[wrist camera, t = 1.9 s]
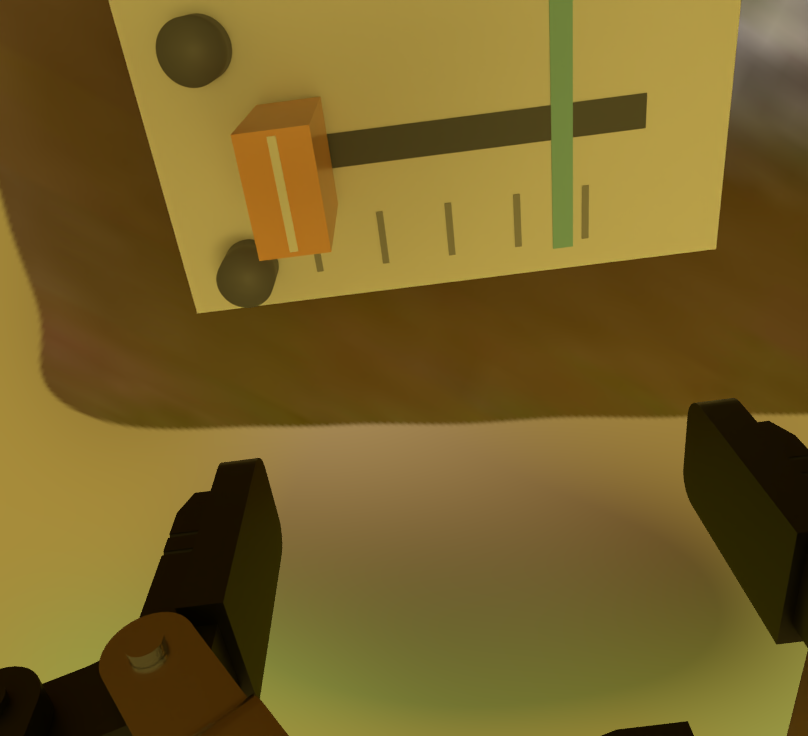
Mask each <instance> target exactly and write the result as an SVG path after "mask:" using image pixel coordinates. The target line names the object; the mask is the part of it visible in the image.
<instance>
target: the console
mask: <svg viewBox="0 0 808 736" xmlns="http://www.w3.org/2000/svg"><path fill="white" fill-rule="evenodd" d="M108 1H109V4H110V8H111V11H112V15H113V18H114V22H115V25H116V29H117V32H118V36H119V39H120V43H121V46H122V50H123V53H124V57H125V60H126V64H127V67H128V71H129V75H130V78H131V82H132V85H133V89H134V92H135V96H136V99H137V103H138V106H139V110H140V113H141V117H142V120H143V124H144V127H145V131H146V134H147V138H148V141H149V145H150V148H151V152H152V155H153V159H154V163H155V166H156V170H157V173H158V177H159V180H160V184H161V187H162V191H163V194H164V198H165V201H166V205H167V208H168V212H169V215H170V219H171V222H172V226H173V229H174V233H175V236H176V240H177V243H178V247H179V250H180V254H181V258H182V261H183V265H184V268H185V272H186V275H187V279H188V282H189V286H190V289H191V293H192V296H193V300H194V303H195V307H196V310H197V313H204V312H212V311H220V310H229V309H237V308H251V307H256V306H261V305H269V304H277V303H285V302H293V301H301V300H309V299H317V298H325V297H333V296H341V295H349V294H357V293H365V292H373V291H381V290H389V289H397V288H406V287H414V286H422V285H430V284H438V283H446V282H454V281H462V280H470V279H478V278H486V277H494V276H502V275H510V274H518V273H526V272H534V271H542V270H550V269H558V268H566V267H574V266H583V265H591V264H599V263H607V262H615V261H623V260H631V259H639V258H647V257H655V256H663V255H671V254H679V253H687V252H695V251H703V250H711V249H716V243H717V233H718V223H719V213H720V203H721V193H722V183H723V174H724V164H725V154H726V144H727V134H728V124H729V114H730V105H731V95H732V85H733V75H734V65H735V55H736V45H737V36H738V26H739V16H740V6H741V0H108ZM313 97H321V103H322V109H323V115H324V121H325V127H326V133H327V139H328V145H329V151H330V157H331V163H332V170H333V176H334V182H335V188H336V194H337V200H338V209H337V216H336V223H335V230H334V237H333V244H332V251H331V252H328V253H320V254H312V255H304V256H296V257H288V258H280V259H272V260H264V261H259V257H258V253H257V249H256V244H255V240H254V236H253V231H252V227H251V222H250V218H249V214H248V209H247V205H246V201H245V196H244V192H243V187H242V183H241V179H240V174H239V170H238V165H237V161H236V157H235V152H234V148H233V144H232V139H231V134H232V133H233V131H234V130H235V129H236V128H237V127H238V126H239V124H240V123H241V122H242V121H243V120H244V119H245V117H246V116H247V115H248V114H249V113H250V112H251V110H252V109H253V108H254V107H255V106H256V105H260V104H267V103H275V102H283V101H290V100H298V99H306V98H313Z"/></svg>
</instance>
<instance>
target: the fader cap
mask: <svg viewBox="0 0 808 736" xmlns="http://www.w3.org/2000/svg"><path fill="white" fill-rule="evenodd" d="M231 139H232V144H233V148H234V152H235V157H236V161H237V165H238V170H239V174H240V179H241V183H242V187H243V192H244V196H245V201H246V205H247V209H248V214H249V218H250V222H251V227H252V231H253V236H254V240H255V244H256V249H257V253H258V257H259V261H264V260H272V259H280V258H288V257H296V256H304V255H312V254H320V253H328V252H331V251H332V244H333V237H334V230H335V223H336V216H337V209H338V200H337V194H336V188H335V182H334V176H333V170H332V163H331V157H330V151H329V145H328V139H327V133H326V127H325V121H324V115H323V109H322V103H321V97H313V98H306V99H298V100H290V101H283V102H275V103H267V104H260V105H256V106H255V107H254V108H253V109H252V110H251V112H250V113H249V114H248V115H247V116H246V117H245V119H244V120H243V121H242V122H241V123H240V124H239V126H238V127H237V128H236V129H235V130H234V131H233V133H232V134H231Z"/></svg>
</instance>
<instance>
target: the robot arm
mask: <svg viewBox="0 0 808 736" xmlns="http://www.w3.org/2000/svg"><path fill="white" fill-rule="evenodd" d="M683 475H684V483H685V488H686V492H687V495H688V498H689V500H690V502H691V504H692V506H693V508H694V509H695V511H696V513H697V514H698V516H699V518H700V519H701V521H702V523H703V524H704V526H705V527H706V529H707V531H708V532H709V534H710V536H711V537H712V539H713V541H714V542H715V544H716V545H717V547H718V549H719V550H720V552H721V554H722V555H723V557H724V559H725V560H726V562H727V563H728V565H729V567H730V568H731V570H732V572H733V574H734V575H735V577H736V578H737V580H738V582H739V583H740V585H741V587H742V588H743V590H744V592H745V593H746V595H747V596H748V598H749V600H750V601H751V603H752V605H753V606H754V608H755V610H756V611H757V613H758V615H759V616H760V618H761V619H762V621H763V623H764V624H765V626H766V628H767V629H768V631H769V633H770V634H771V636H772V638H773V639H774V641H775V643H776V644H784V643H792V642H801V641H804V643H805V644H806V646H807V648H808V449H807V448H806V447H805V445H804V444H803V443H802V442H801V441H800V440H799V439H798V438H797V437H796V436H795V435H793V434H792V433H789V432H788V431H786V430H784V429H783V428H781V427H779V426H777V425H775V424H774V423H771V422H770V421H764V422H757V421H756V420H755V419H754V418H753V417H752V416H751V414H750V413H749V412H748V411H747V410H746V409H745V407H744V406H743V405H742V404H741V403H740V402H739V401H738V400H737V399H735V398H730V399H722V400H714V401H707V402H699V403H693V404H691V406H690V407H689V411H688V418H687V432H686V444H685V457H684V469H683ZM281 555H282V533H281V526H280V521H279V517H278V513H277V509H276V506H275V502H274V498H273V495H272V491H271V488H270V484H269V480H268V477H267V473H266V469H265V466H264V464H263V461H262V460H261V459H260V458H255V459H248V460H240V461H231V462H224V463H220V464H219V466H218V469H217V472H216V475H215V479H214V482H213V485H212V488H211V491H207V492H199V493H194V494H193V496H192V497H191V498H190V499H189V500H188V501H187V502H186V504H185V505H184V506H183V507H182V508H181V509H180V510H179V511H178V513H177V515H176V517H175V520H174V523H173V526H172V529H171V531H170V538H168V540H167V542H166V545H165V548H164V555H163V556H162V557H161V559H160V562H159V565H158V568H157V570H156V573H155V576H154V579H153V582H152V585H151V587H150V590H149V593H148V596H147V598H146V601H145V604H144V607H143V609H142V612H141V615H140V618H138V619H136V620H135V621H133V622H131V623H129V624H128V625H126V626H125V627H123V628H122V629H121V630H120V631H119V632H117V633H116V634H115V635H114V636H113V637H112V638H111V640H110V641H109V642H108V644H107V645H106V646H105V648H104V650H103V652H102V655H101V658H100V660H99V661H98V662H96V663H94V664H92V665H90V666H87V667H85V668H82V669H80V670H77V671H75V672H72V673H70V674H67V675H64V676H62V677H59V678H57V679H54V680H51V681H49V682H46V683H44V684H42V683H41V681H40V679H39V678H38V676H37V675H36V674H35V673H34V672H33V671H32V670H30V669H28V668H24V667H16V666H14V667H6V668H2V669H0V736H288V734H287V733H286V732H285V730H284V729H283V728H282V727H281V725H280V724H279V723H278V721H277V720H276V719H275V718H274V716H273V715H272V714H271V712H270V711H269V710H268V708H267V707H266V706H265V705H264V704H263V702H262V701H261V700H260V693H261V686H262V680H263V674H264V667H265V660H266V654H267V647H268V641H269V634H270V628H271V620H272V614H273V607H274V601H275V595H276V588H277V582H278V575H279V568H280V562H281ZM602 736H694V735H693V733H692V730H691V728H690V726H689V723H688V721H686V722H678V723H669V724H662V725H653V726H645V727H636V728H627V729H619V730H615V731H612V732H610V733H607V734H605V735H602ZM787 736H808V652H807V656H806V661H805V664H804V668H803V672H802V676H801V681H800V685H799V688H798V693H797V697H796V701H795V705H794V709H793V713H792V717H791V721H790V725H789V729H788V733H787Z"/></svg>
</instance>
